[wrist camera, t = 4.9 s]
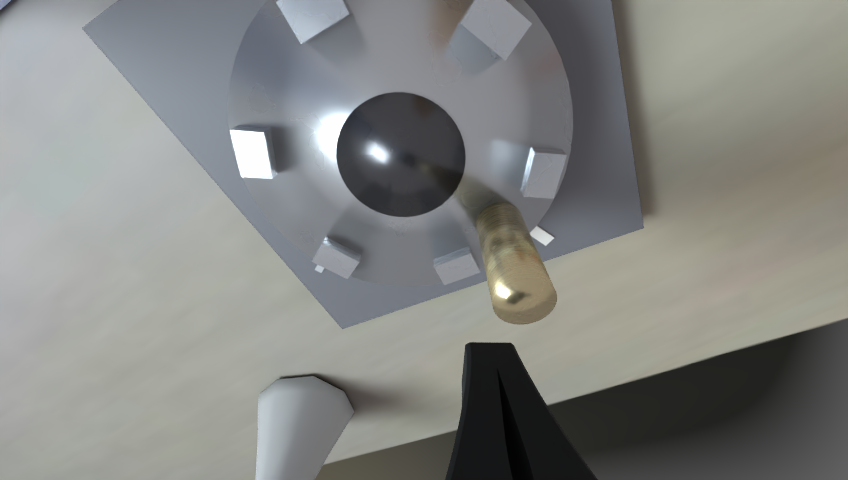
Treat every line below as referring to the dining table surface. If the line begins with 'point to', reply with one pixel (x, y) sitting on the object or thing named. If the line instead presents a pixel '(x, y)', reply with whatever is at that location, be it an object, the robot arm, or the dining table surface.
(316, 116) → the crank wheel with handle
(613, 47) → the cap plate
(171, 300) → the dining table surface
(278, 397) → the flask
